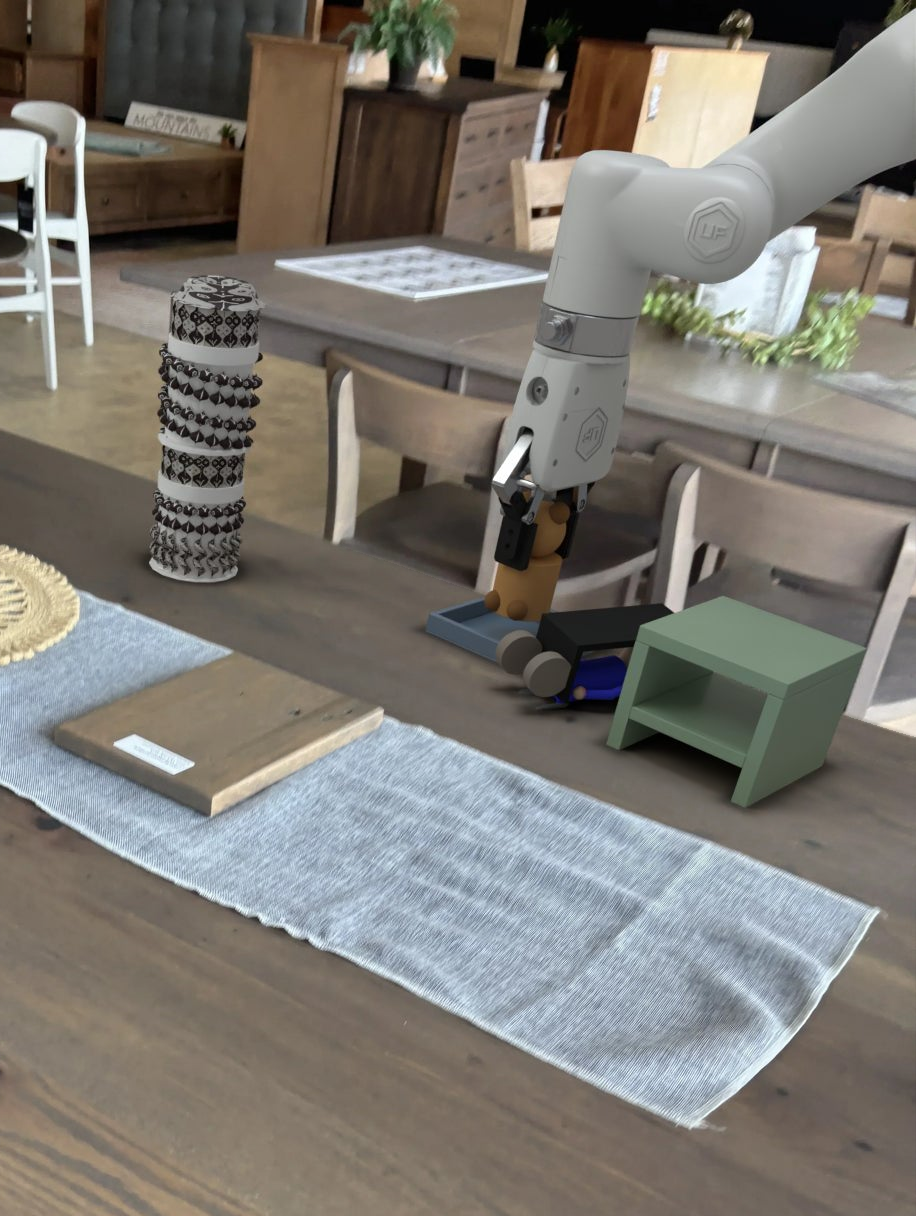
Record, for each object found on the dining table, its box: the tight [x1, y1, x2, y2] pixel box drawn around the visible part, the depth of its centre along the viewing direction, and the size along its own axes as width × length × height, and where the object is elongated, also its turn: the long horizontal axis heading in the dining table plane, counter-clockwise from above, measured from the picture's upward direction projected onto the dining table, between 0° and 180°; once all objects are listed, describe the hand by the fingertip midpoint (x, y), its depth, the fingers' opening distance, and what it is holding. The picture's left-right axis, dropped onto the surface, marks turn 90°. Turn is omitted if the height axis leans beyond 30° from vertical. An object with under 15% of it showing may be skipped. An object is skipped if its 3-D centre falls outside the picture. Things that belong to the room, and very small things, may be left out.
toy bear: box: [484, 490, 570, 622], centre depth 121 cm, size 6×5×10 cm
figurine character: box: [495, 602, 675, 711], centre depth 114 cm, size 7×8×15 cm
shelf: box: [605, 595, 868, 809], centre depth 107 cm, size 12×12×10 cm
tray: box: [425, 596, 599, 664], centre depth 125 cm, size 11×11×2 cm
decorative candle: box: [148, 274, 267, 583], centre depth 126 cm, size 9×9×25 cm
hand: (531, 557), depth 121 cm, fingers closed on toy bear, 5 cm apart
